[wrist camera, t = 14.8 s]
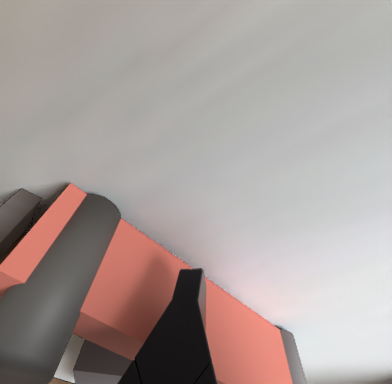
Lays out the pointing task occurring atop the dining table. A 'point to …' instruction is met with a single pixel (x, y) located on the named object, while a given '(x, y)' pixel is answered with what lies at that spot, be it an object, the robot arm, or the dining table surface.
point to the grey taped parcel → (99, 365)
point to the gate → (117, 299)
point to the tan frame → (17, 227)
